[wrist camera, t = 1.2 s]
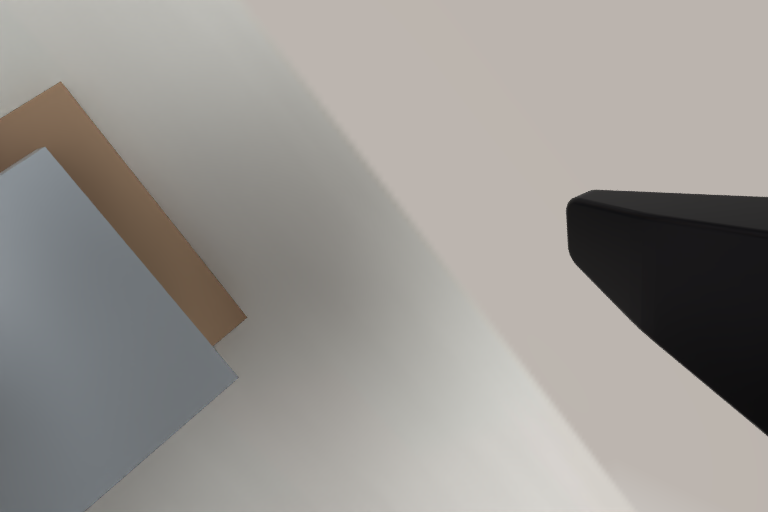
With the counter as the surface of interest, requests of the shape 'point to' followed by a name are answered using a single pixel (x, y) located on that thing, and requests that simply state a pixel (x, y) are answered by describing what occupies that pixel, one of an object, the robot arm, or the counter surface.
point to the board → (120, 203)
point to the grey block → (84, 348)
